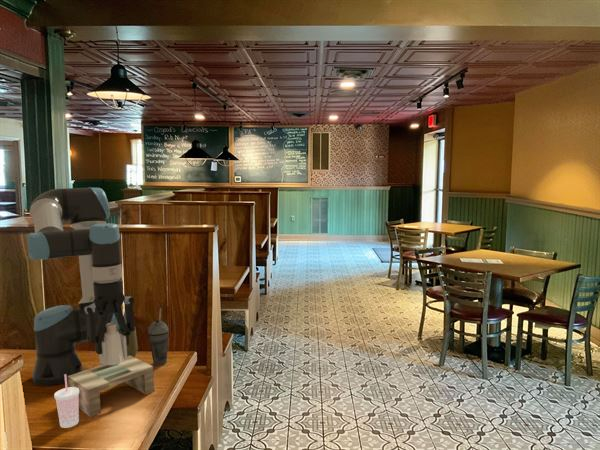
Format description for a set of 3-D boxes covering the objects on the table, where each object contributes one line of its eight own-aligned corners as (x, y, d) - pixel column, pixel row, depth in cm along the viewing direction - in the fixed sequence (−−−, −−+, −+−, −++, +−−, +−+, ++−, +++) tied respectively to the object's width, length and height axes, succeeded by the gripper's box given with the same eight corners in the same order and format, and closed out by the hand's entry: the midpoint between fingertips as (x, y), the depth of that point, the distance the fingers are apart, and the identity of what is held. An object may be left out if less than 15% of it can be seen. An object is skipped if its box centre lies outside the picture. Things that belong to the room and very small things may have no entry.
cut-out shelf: (69, 401, 138) (67, 376, 137) (132, 378, 153) (130, 355, 152) (90, 417, 129) (88, 389, 128) (154, 390, 143) (152, 366, 142)
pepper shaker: (102, 366, 125) (99, 328, 124) (104, 359, 131) (101, 321, 129) (123, 364, 127) (120, 325, 126) (124, 356, 132) (122, 319, 131)
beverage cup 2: (149, 360, 167) (146, 307, 165) (170, 357, 169) (167, 305, 167) (149, 368, 160) (145, 313, 158) (171, 365, 163) (167, 310, 160)
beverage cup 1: (85, 422, 126) (81, 373, 124) (62, 432, 121) (57, 381, 120) (76, 415, 130) (72, 367, 128) (53, 424, 125) (48, 375, 124)
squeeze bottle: (130, 364, 164) (129, 315, 162) (109, 361, 166) (109, 313, 164) (142, 355, 172) (142, 309, 170) (122, 353, 174) (122, 307, 172)
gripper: (79, 288, 117) (86, 375, 120) (145, 275, 130) (150, 353, 133) (67, 284, 122) (74, 367, 125) (132, 272, 135) (137, 347, 138)
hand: (113, 360), depth 129 cm, fingers closed on pepper shaker, 5 cm apart
